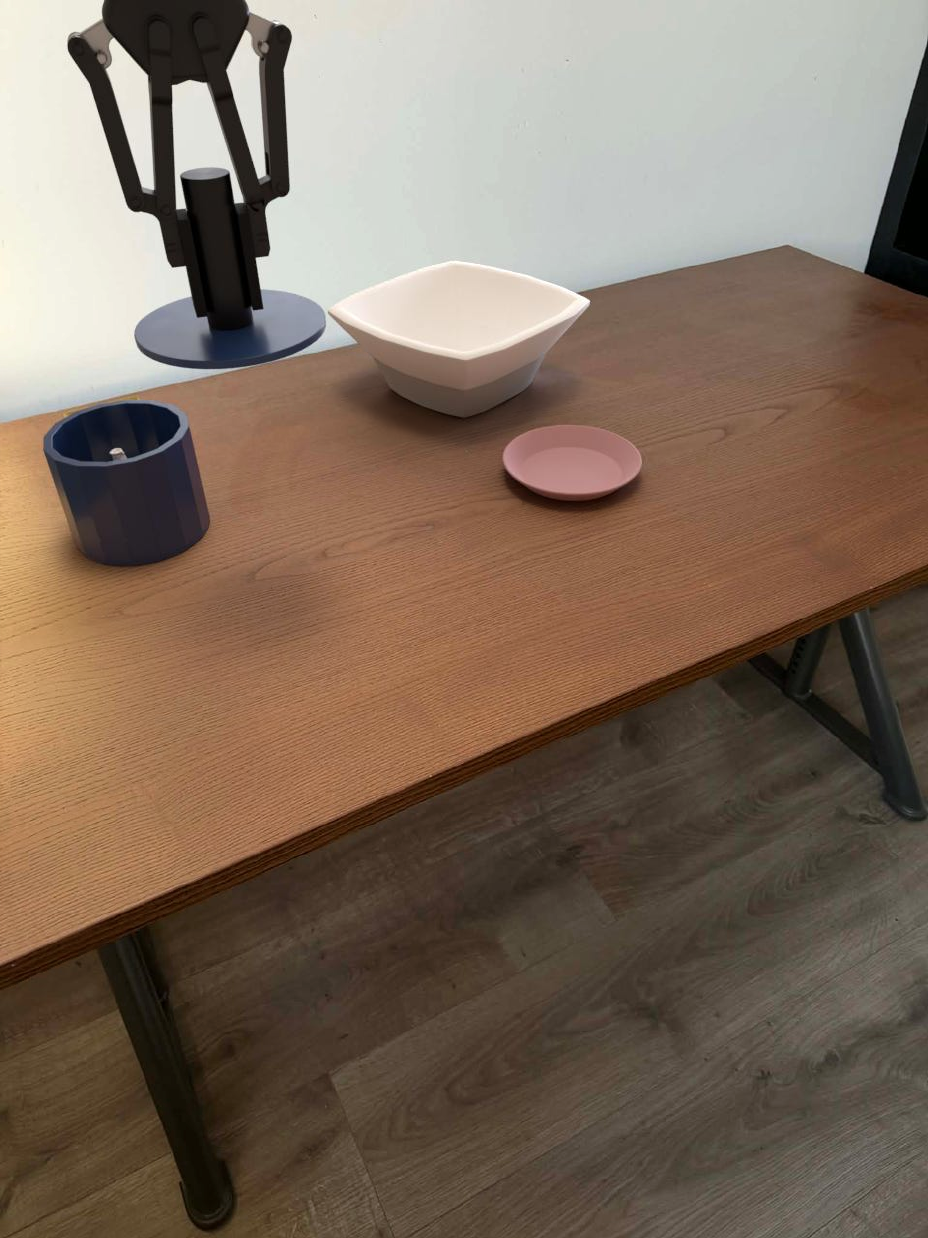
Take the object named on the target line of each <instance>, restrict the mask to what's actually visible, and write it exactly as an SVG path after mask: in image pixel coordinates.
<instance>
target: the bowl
mask: <svg viewBox="0 0 928 1238" xmlns="http://www.w3.org/2000/svg"><path fill="white" fill-rule="evenodd" d="M590 303H591V301H590V299H589V298H586V297H585V296H583V295H581V294H578V293H576V292H574V291H572V290H569V289H567V288H565V287H563V286H560V285H557V284H554V283H551V282H549V281H545V280H542V279H539V278H536V277H534V276H531V275H528V274H523V273H519V272H514V271H511V270H507V269H503V268H499V267H494V266H489V265H485V264H478V263H472V262H468V261H467V262H465V261H460V260H451V261H446V262H441V263H436V264H433V265H429V266H424V267H421V268H419V269H416V270H413V271H410V272H407V273H405V274H402V275H399V276H396V277H394V278H390V279H388V280H386V281H383V282H381V283H378V284H375V285H372V286H370V287H368V288H365V289H363V290H362V289H361V290H360V291H357V292H355V293H353V294H351V295H349V296H347V297H345V298H343V299H342V300H339V302H336V303H335V304H334V305H332V306H330V307H329V308H328V309H327V314H328V316H329V317H331V318H332V319H333V320H334V321H335V322H336V324H338V325H339V326H340V327H341V328H342V329H343V331H345V333H347V334H348V335H349V336H350V337H351V338H352V339H353V340H354V341H355V342H356V343H357V344H358V345H359V346H360V347H361V348H362V349H363V350H364V351H365V352H366V353H367V354H368V355H370V356H371V357H372V358H373V360H374V362H375V364H376V365H377V368H378V369H379V371H380V373H381V375H382V376H383V379H384V380H385V382H386V384H387V386H388V387H389V389H390V390H392V391H393V392H394V393H396V394H398V395H399V396H401V397H402V398H404V399H407V400H409V401H411V402H413V403H415V404H416V405H419V406H421V407H424V408H426V409H430V410H432V411H436V412H439V413H442V414H443V415H444V414H445V415H449V416H453V417H458V418H463V419H464V418H465V419H466V418H469V417H472V416H475V415H479V414H481V413H485V412H487V411H488V410H491V409H492V408H494V407H496V406H498V405H500V404H502V403H504V402H506V401H507V400H510V399H512V398H513V397H515V396H517V395H518V394H521V393H523V392H524V391H525V390H526V389H527V388H528V387H529V386H530V385H531V384H532V383H533V380H534V379H535V377H536V375H537V373H538V370H539V369H540V368H541V367H540V366H541V364H542V363H543V360H544V358H545V357H546V354H547V352H548V351H549V350H550V349H551V348H552V347H553V346H554V345H555V344H556V343H557V342H558V341H559V340H560V338H562V336H563V335H564V334H565V333H566V332H567V331H568V330H569V328H570V327H571V326H572V325H573V324H574V323H575V322H576V321H577V320H578V319H579V318H580V316H581V315H582V314H583V313H584V312H585V311H586V310H587V308H589V306H590Z"/></svg>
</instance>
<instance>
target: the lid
mask: <svg viewBox="0 0 928 1238" xmlns="http://www.w3.org/2000/svg"><path fill="white" fill-rule="evenodd" d="M179 178H180V184H181V189H182V194H183V195H182V196H183V198H184V199H183V200H184V203H185V209H186V211H187V214H188V217H189V220H190V225H191V230H192V235H193V241H194V246H195V251H196V256H197V262H198V267H199V272H200V277H201V283H202V288H203V293H204V298H205V304H206V309H207V314H208V317H200V318H197V316H196V312H195V309H194V305H193V301H192V296H191V295H190V296H187V297H184V298H180V299H177V300H175V301H171V302H169V303H166V304H164V305H162V306H160V307H158V308H156V309H154V310H153V311H150V312H149V313H147V314H146V315H145V316H143V318H142V319H140V321H138V322H137V324H136V326H135V328H134V335H133V337H134V341H135V344H136V347H137V348H138V350H139V351H140V353H141V354H142V355H144V356H145V357H147V358H148V359H151V360H153V361H155V362H158V363H161V364H163V365H167V366H171V367H177V368H182V369H183V368H184V369H193V370H195V369H196V370H226V369H227V370H228V369H237V368H239V369H240V368H247V367H251V366H258V365H263V364H266V363H271V362H275V361H278V360H281V359H284V358H288V357H290V356H292V355H295V354H297V353H299V352H301V351H303V350H305V349H308V348H309V347H310V346H312V345H313V344H315V343H316V342H317V341H319V339H320V338H321V337H322V336H323V334H325V331H326V327H327V318H326V313H325V311H324V309H323V307H321V305H320V304H318V303H317V302H316V301H314V300H312V299H310V298H308V297H306V296H304V295H300V294H297V293H292V292H288V291H284V290H283V291H282V290H274V289H263V288H260V289H261V295H262V302H263V309H261V310H254V311H253V309H252V307H251V303H250V297H249V291H248V284H247V278H246V272H245V266H244V259H243V253H242V247H241V241H240V235H239V228H238V222H237V216H236V209H235V203H236V202H235V197H234V191H233V190H234V189H233V185H232V178H231V173H230V170H228V169H226V168H223V167H215V166H214V167H213V166H211V167H197V168H193V169H188V170H185V171H183V172H182V173H180V175H179Z"/></svg>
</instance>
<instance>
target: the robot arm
mask: <svg viewBox="0 0 928 1238" xmlns="http://www.w3.org/2000/svg"><path fill="white" fill-rule="evenodd" d="M101 17H102V18H100V19H98V21H96V22H95V23H93V24H92V25H90V26H88V27H86V28H85V29H84V30H82V31H73V32H71V33H70V34H69V35H68V37H67V40H66V43H67V45H66V47H67V52H68V54H69V56H70V57H71V59H72V60H73V62H74V64H76V67H77V68H78V69H79V71H80V72H81V73H82V75H83V76H84V79H86V81H87V83H88V84H89V87H90V91H91V93H92V94H91V95H92V97H93V101H94V103H95V107H96V110H97V113H98V116H99V119H100V123H101V126H102V129H103V132H104V136H105V139H106V142H107V145H108V150H109V152H110V155H111V159H112V162H113V165H114V168H115V172H116V175H117V178H118V181H119V184H120V187H121V191H122V194H123V198H124V200H125V203H126V206H127V208H128V209H129V210H130V211H131V212H134V213H144V214H149V215H151V216H153V217H155V219H157V221H158V224H159V227H160V228H159V229H160V232H161V238H162V242H163V247H164V251H165V256H166V260H167V262H168V264H169V266H170V267H171V268H172V269H173V268H181V267H182V268H183V267H185V270H186V276H187V280H188V285H189V290H190V297H191V296H192V301H193V305H194V309H195V312H196V316H197V318H200V317H208V314H207V309H206V304H205V298H204V293H203V288H202V283H201V277H200V272H199V267H198V262H197V256H196V251H195V246H194V241H193V235H192V230H191V225H190V220H189V217H188V214H187V210H186V208H177V191H176V189H177V188H176V187H177V186H176V166H175V165H176V163H175V141H174V137H175V136H174V116H173V112H174V111H173V100H174V99H173V86H177V85H178V86H179V85H180V84H182V83H186V82H188V81H192V82H196V83H201V84H206V86H207V89H208V92H209V94H210V98H211V101H212V104H213V107H214V110H215V114H216V117H217V121H218V123H219V127H220V129H221V133H222V137H223V139H224V143H225V145H226V148H227V152H228V155H229V158H230V162H231V165H232V168H233V171H234V174H235V177H236V180H237V184H238V188H239V190H240V193H241V196H242V201H243V202H235V209H236V216H237V222H238V228H239V235H240V241H241V247H242V253H243V259H244V266H245V272H246V278H247V284H248V291H249V297H250V303H251V307H252V309H253V311H254V310H261V309H263V302H262V295H261V289H262V288H261V283H260V282H261V281H260V276H259V271H258V265H257V264H258V263H257V258H266V257H269V256H270V252H271V243H270V236H269V229H268V223H267V222H268V221H267V215H266V211H267V210H266V208H267V206H268V205H269V204H270V203H271V202H272V201H274V200H276V199H278V198H285V197H286V196H288V194H289V193H290V189H291V187H290V185H291V184H290V166H289V145H288V144H289V143H288V125H287V124H288V123H287V107H286V105H287V103H286V87H285V86H286V83H285V67H286V64H287V59H288V56H289V52H290V49H291V45H292V42H293V33H292V31H291V29H290V28H289V27H288V26H287V25H286V24H284V23H283V22H281V21H280V20H276V19H275V20H274V19H273V20H270V19H268V18H265V17H263V16H261V15H259V14H257V13H254V12H252V11H250V7H249V4H248V3H247V1H246V0H103V3H102V6H101ZM246 31H247V32H248V34H249V35H250V45H251V49H252V51H253V52H254V53H255V55H256V56H257V57H259V59H258V75H259V90H260V105H261V107H260V108H261V109H260V110H261V121H262V139H263V152H264V168H265V175H263V176H261V177H258V174H257V170H256V167H255V164H254V160H253V156H252V154H251V150H250V146H249V143H248V140H247V137H246V133H245V130H244V127H243V123H242V121H241V117H240V113H239V110H238V107H237V103H236V100H235V97H234V96H235V95H234V92H233V88H232V85H231V81H230V78H229V75H228V71H227V70H228V68H229V66H230V64H231V62H232V60H233V59H234V58H233V57H234V55H235V53H236V51H237V49H238V47H239V44H240V42H241V41H242V38H243V36H244V34H245V32H246ZM113 39H114V40H115V41H116V42H117V43H118V45H120V46H121V48H122V49H123V50H124V51H125V52H126V53H127V54H128V55H129V57H131V59H132V60H133V62H135V64H137V66H138V67H139V68H140V69H141V70H142V71H143V72H144V73H145V74H146V75H147V88H148V89H147V90H148V97H149V99H148V100H149V101H148V102H149V118H150V119H149V121H150V135H151V136H150V138H151V155H152V157H151V159H152V175H153V176H152V177H153V189H151V188H148V187H143V186H142V183H141V179H140V175H139V171H138V168H137V166H136V165H137V164H136V162H135V159H134V156H133V152H132V149H131V145H130V141H129V138H128V135H127V131H126V128H125V125H124V122H123V118H122V114H121V111H120V108H119V103H118V101H117V97H116V94H115V91H114V88H113V87H114V86H113V84H112V81H111V79H110V75H109V73H108V71H107V69H108V68H110V67H111V65H112V62H113V56H112V53H111V50H110V44H111V41H112V40H113Z"/></svg>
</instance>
